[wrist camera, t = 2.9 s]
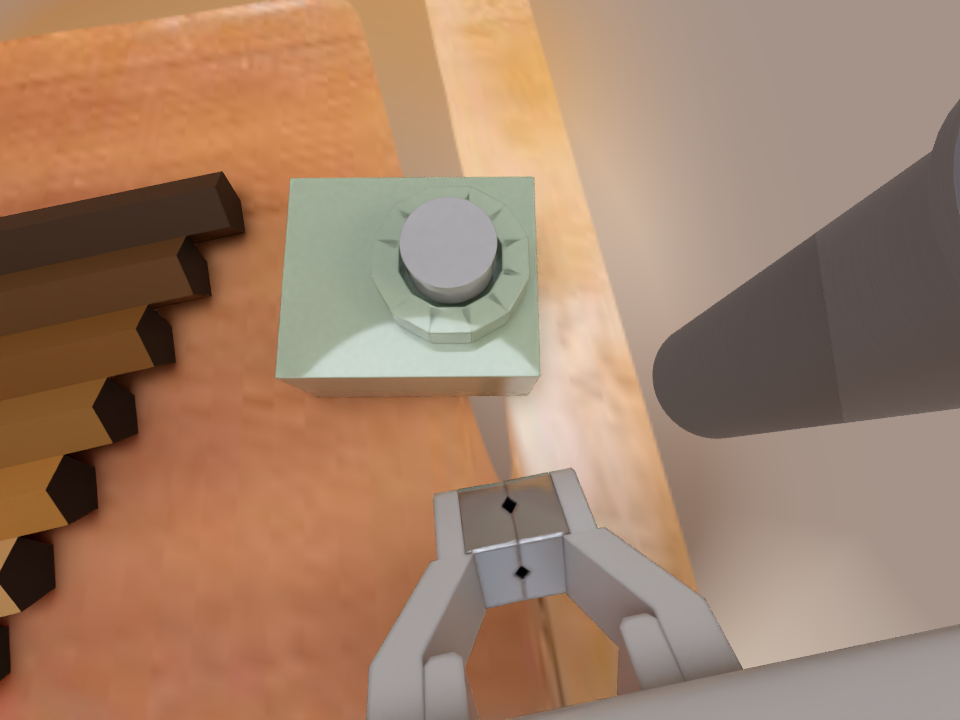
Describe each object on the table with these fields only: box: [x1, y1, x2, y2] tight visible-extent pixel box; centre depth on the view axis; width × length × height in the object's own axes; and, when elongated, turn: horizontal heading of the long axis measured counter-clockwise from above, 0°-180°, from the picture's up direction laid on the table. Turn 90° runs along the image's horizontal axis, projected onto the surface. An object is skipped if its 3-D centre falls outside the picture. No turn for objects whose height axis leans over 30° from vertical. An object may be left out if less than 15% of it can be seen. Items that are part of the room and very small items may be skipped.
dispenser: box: [275, 177, 540, 397], centre depth 26 cm, size 12×10×8 cm
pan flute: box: [0, 171, 245, 680], centre depth 27 cm, size 25×3×25 cm
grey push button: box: [399, 197, 497, 304], centre depth 22 cm, size 4×4×2 cm
